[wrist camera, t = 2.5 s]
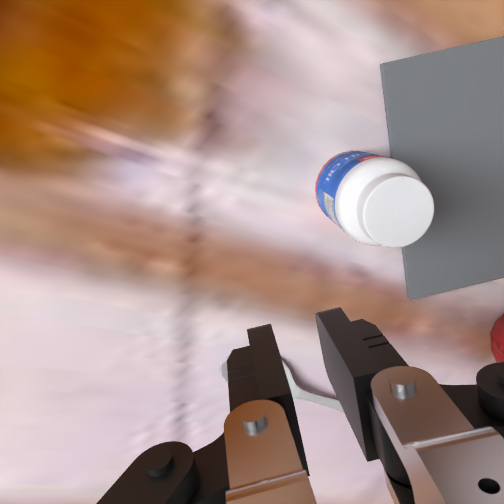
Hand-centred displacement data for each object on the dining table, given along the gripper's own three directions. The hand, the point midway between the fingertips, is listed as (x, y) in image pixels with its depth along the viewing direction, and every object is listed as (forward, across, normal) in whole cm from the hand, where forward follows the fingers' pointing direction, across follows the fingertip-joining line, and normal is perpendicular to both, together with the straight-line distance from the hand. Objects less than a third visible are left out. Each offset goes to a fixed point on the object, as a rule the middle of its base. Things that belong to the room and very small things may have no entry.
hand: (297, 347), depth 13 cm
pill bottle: (+21, -8, 0) cm, 23 cm away
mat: (+21, -17, +1) cm, 27 cm away
